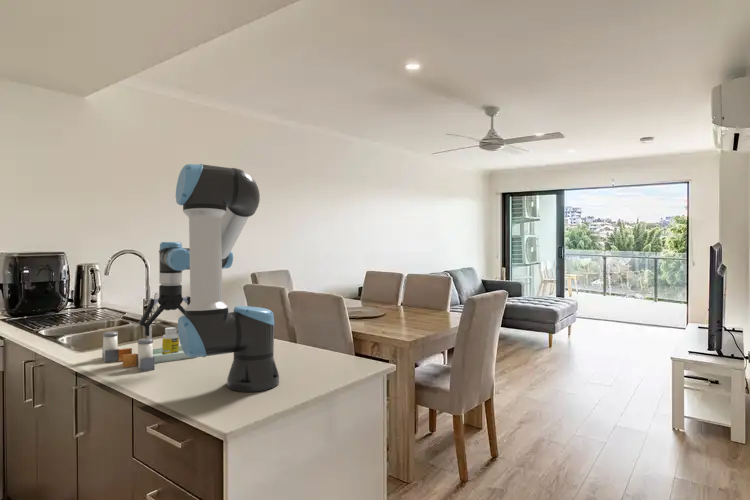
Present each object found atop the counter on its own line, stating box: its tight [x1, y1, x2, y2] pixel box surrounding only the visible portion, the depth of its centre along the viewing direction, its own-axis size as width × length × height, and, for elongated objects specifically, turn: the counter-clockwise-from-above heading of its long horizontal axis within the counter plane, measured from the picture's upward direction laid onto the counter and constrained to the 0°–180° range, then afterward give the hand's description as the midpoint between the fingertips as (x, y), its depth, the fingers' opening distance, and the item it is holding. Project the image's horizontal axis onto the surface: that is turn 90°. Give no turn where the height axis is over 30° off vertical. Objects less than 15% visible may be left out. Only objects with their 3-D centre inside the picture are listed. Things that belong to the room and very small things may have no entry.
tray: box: [153, 344, 197, 364], centre depth 166 cm, size 12×16×2 cm
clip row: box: [101, 345, 156, 372], centre depth 156 cm, size 26×12×4 cm, turn 37°
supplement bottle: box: [162, 326, 180, 355], centre depth 165 cm, size 5×5×10 cm
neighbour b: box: [102, 330, 119, 362], centre depth 161 cm, size 5×5×9 cm
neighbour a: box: [137, 337, 154, 370], centre depth 151 cm, size 5×5×9 cm
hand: (170, 342), depth 165 cm, fingers open, 13 cm apart
